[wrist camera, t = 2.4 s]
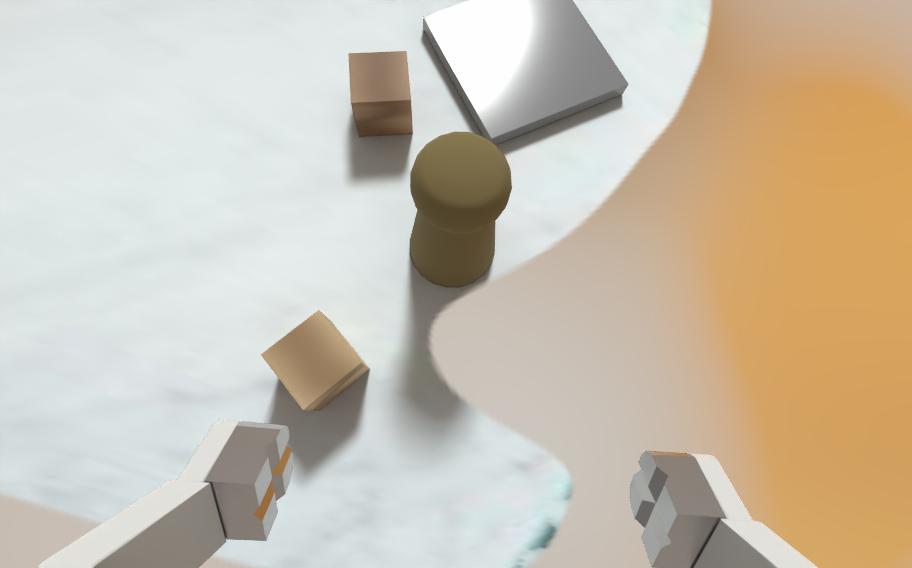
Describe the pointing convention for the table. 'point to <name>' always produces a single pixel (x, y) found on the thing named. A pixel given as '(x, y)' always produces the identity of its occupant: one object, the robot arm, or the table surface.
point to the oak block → (315, 362)
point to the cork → (457, 207)
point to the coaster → (522, 62)
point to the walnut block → (380, 93)
